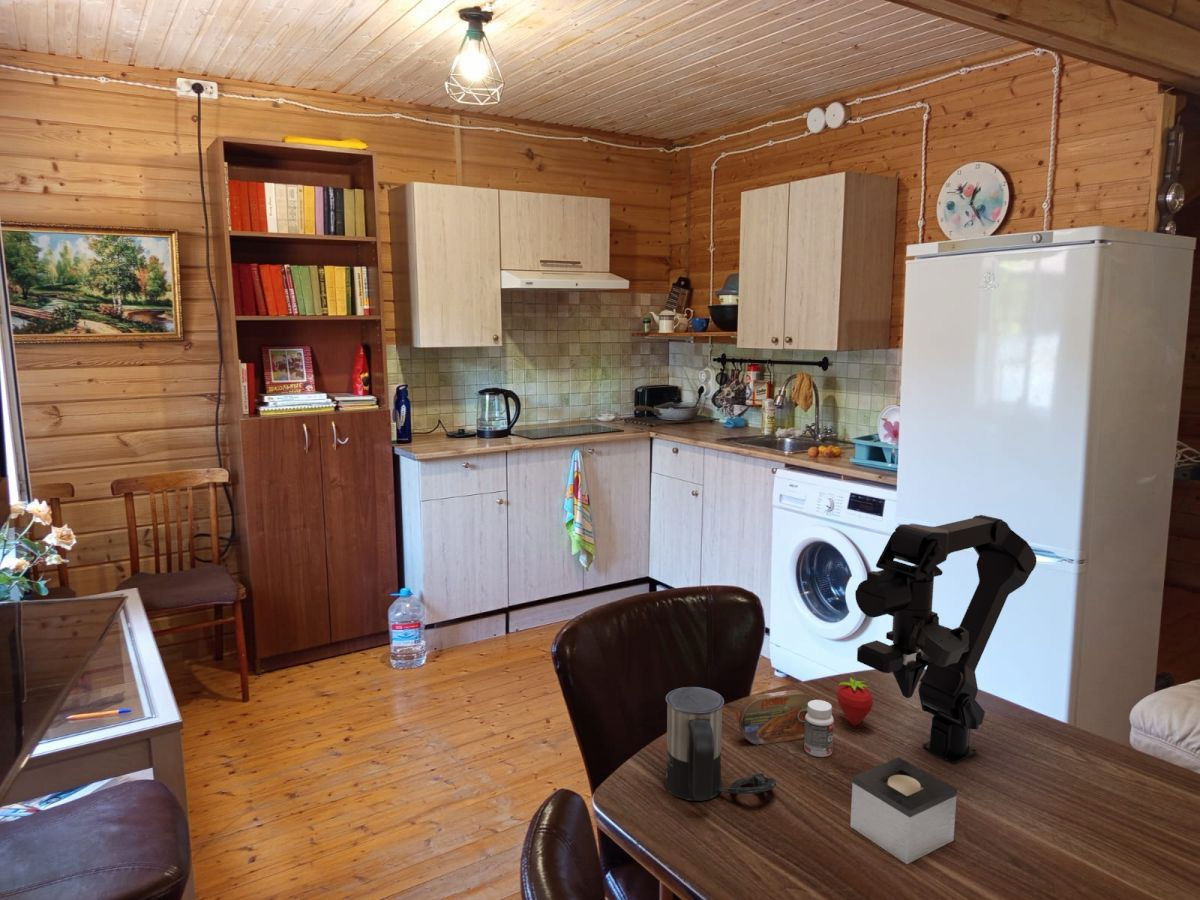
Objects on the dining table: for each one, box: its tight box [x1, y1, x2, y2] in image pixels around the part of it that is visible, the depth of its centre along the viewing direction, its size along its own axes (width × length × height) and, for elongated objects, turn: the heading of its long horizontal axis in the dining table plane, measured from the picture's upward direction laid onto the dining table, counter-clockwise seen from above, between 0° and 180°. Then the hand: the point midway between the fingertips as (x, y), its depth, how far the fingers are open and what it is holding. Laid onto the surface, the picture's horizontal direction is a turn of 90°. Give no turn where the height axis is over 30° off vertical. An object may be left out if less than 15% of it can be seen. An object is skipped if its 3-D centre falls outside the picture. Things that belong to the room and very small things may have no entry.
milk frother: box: [664, 686, 777, 802], centre depth 131 cm, size 14×16×15 cm
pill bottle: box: [804, 699, 835, 758], centre depth 143 cm, size 5×5×8 cm
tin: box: [736, 689, 815, 745], centre depth 147 cm, size 15×3×8 cm, turn 104°
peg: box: [888, 775, 921, 796], centre depth 120 cm, size 4×4×8 cm
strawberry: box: [836, 673, 874, 727], centre depth 152 cm, size 6×8×10 cm
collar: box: [850, 757, 958, 865], centre depth 120 cm, size 10×10×8 cm
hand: (907, 696), depth 135 cm, fingers closed
